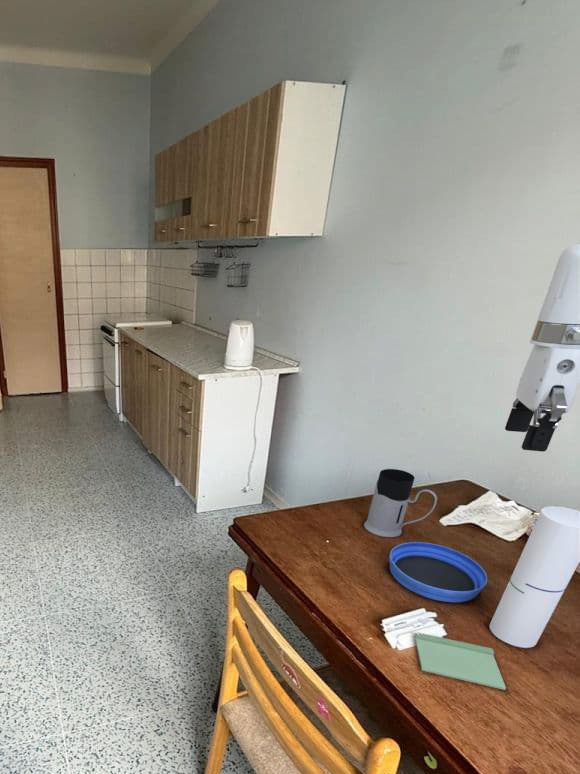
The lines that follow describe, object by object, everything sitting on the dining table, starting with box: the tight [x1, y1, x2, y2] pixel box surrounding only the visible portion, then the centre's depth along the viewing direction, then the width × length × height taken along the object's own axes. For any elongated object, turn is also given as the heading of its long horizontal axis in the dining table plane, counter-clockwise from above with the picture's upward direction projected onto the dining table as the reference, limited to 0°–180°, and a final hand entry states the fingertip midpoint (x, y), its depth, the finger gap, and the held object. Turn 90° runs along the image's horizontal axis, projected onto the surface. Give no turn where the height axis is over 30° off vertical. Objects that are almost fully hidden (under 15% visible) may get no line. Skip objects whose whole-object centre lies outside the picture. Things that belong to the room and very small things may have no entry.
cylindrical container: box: [488, 505, 580, 649], centre depth 82 cm, size 7×7×25 cm
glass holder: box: [363, 468, 438, 538], centre depth 116 cm, size 9×14×15 cm, turn 39°
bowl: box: [388, 541, 488, 603], centre depth 102 cm, size 18×18×4 cm
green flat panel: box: [413, 631, 507, 691], centre depth 82 cm, size 12×9×1 cm
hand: (523, 440), depth 80 cm, fingers open, 9 cm apart
